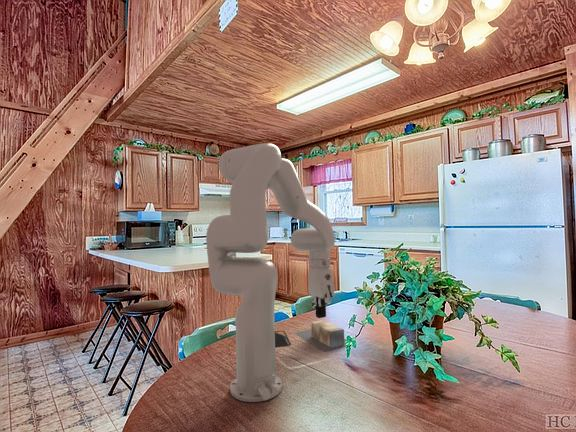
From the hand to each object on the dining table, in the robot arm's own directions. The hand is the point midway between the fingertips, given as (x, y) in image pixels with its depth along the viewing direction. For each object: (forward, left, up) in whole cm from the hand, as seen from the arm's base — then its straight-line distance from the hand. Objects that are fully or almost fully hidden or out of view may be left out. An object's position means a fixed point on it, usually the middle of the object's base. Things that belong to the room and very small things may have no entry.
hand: (320, 316), depth 109 cm
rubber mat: (-1, 0, -8) cm, 8 cm away
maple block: (+2, 0, -4) cm, 5 cm away
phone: (+7, +14, -8) cm, 18 cm away
